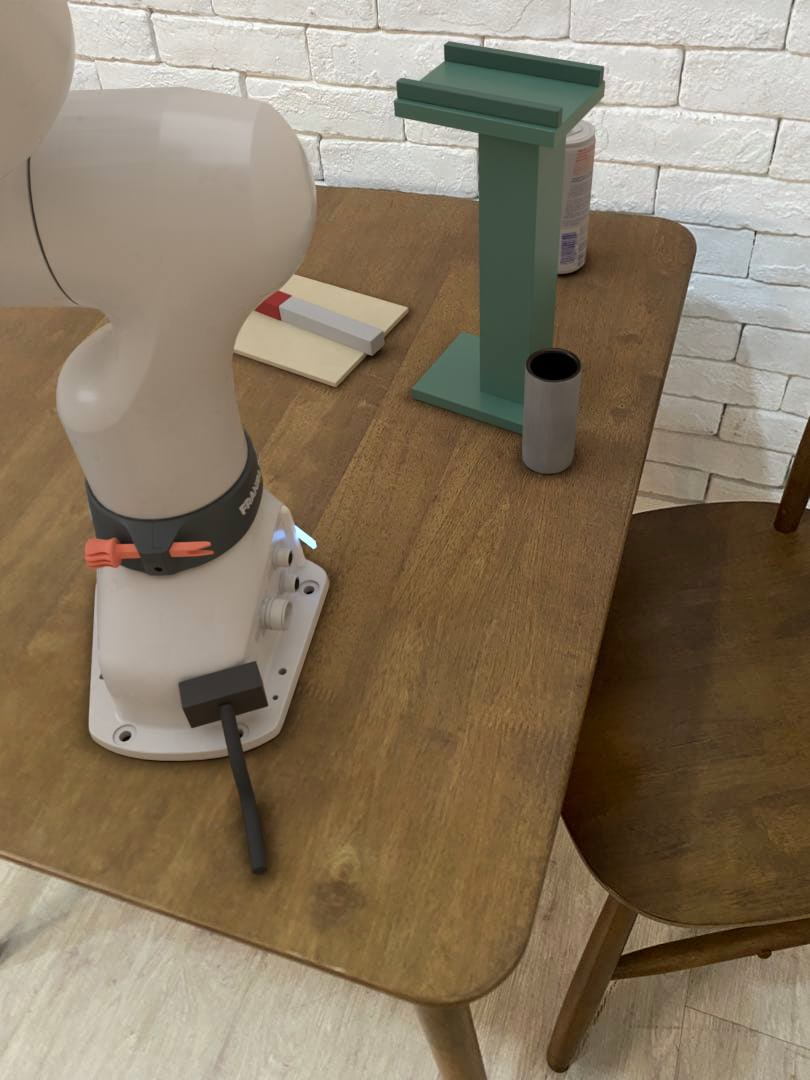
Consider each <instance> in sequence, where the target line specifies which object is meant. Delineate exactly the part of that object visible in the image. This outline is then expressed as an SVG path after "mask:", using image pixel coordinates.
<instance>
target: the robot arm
mask: <svg viewBox="0 0 810 1080" xmlns="http://www.w3.org/2000/svg"><path fill="white" fill-rule="evenodd" d="M69 7H70V6H69V3H68V0H0V309H42V308H47V309H50V308H54V309H55V308H85V309H86V308H87V309H95V310H98V311H100V312H101V313H102V314H104V315H105V317H106V318H107V319H108V320H109V322H107V323H106V324H104V325H102V326H101V327H99V328H98V329H96V330H95V331H94V332H92V333H91V334H90V335H88V336H87V337H85V338H84V340H83V341H81V342H80V343H79V344H78V345H77V346H76V347H75V348H74V349H73V350H72V352H70V354H69V355H68V356H67V358H66V359H65V361H64V362H63V364H62V367H61V368H60V371H59V375H58V378H57V382H56V389H55V402H56V403H55V404H56V412H57V415H58V418H59V420H60V423H61V424H62V427H63V430H64V432H65V434H66V436H67V438H68V440H69V443H70V445H71V448H72V449H73V452H74V454H75V456H76V458H77V461H78V463H79V465H80V467H81V470H82V472H83V475H84V486H85V491H86V492H85V493H86V503H87V507H88V514H89V517H90V518H89V519H90V521H92V524H93V529H94V534H95V538H94V537H92V538H88V539H87V542H86V543H85V547H84V559H85V562H86V565H87V567H88V568H89V569H92V570H96V584H95V591H94V607H93V608H94V609H93V625H92V626H93V628H92V647H91V648H92V649H91V667H90V668H91V669H90V684H89V685H90V688H89V707H88V732H89V734H90V736H91V739H92V740H93V741H94V742H95V743H96V744H98V745H99V746H101V747H103V748H104V749H106V750H108V751H110V752H113V753H115V754H117V755H122V756H125V757H128V758H135V759H140V760H147V761H149V760H150V761H161V762H163V761H164V762H166V761H167V762H182V761H184V762H185V761H202V760H209V759H219V758H224V757H228V758H229V763H230V768H231V772H232V775H233V776H232V777H233V779H234V782H235V786H236V789H237V793H238V797H239V802H240V806H241V811H242V815H243V821H244V826H245V832H246V839H247V846H248V852H249V853H248V854H249V860H250V867H251V873H252V874H253V875H261V874H264V873H266V872H267V871H268V863H267V858H266V851H265V845H264V840H263V838H264V837H263V833H262V826H261V822H260V821H261V820H260V816H259V810H258V806H257V801H256V797H255V792H254V789H253V786H252V783H251V778H250V774H249V770H248V766H247V762H246V758H245V752H248V751H250V750H252V749H255V748H257V747H259V746H261V745H264V744H265V743H268V742H269V741H271V740H272V739H274V738H276V737H277V736H278V735H279V734H280V733H281V730H282V729H283V726H284V723H285V721H286V718H287V715H288V713H289V712H288V711H289V708H290V705H291V703H292V699H293V696H294V693H295V691H296V688H297V686H298V685H297V684H298V682H299V679H300V676H301V673H302V670H303V667H304V664H305V661H306V657H307V655H308V652H309V650H310V649H309V648H310V646H311V643H312V639H313V637H314V633H315V631H316V629H317V625H318V622H319V619H320V616H321V613H322V611H323V606H324V604H325V600H326V597H327V595H328V592H329V589H330V579H329V576H328V574H327V572H326V570H325V569H324V568H323V567H321V566H319V564H316V563H315V562H313V561H311V560H310V559H307V558H306V557H305V553H304V550H303V547H302V544H301V541H302V542H304V543H305V544H306V545H308V546H309V547H310V548H312V549H313V550H315V549H316V548H317V543H316V540H314V539H313V537H311V536H310V535H308V534H307V533H306V532H304V531H303V530H302V529H301V528H299V527H298V526H297V525H295V522H294V519H293V515H292V513H291V510H290V508H289V507H287V506H286V505H285V503H283V501H281V500H280V499H278V498H277V497H276V496H275V495H274V494H273V493H272V492H271V491H270V490H269V489H268V488H267V487H266V486H265V484H264V479H263V475H262V466H261V461H260V457H259V455H258V451H257V449H256V447H255V446H254V443H253V440H252V438H251V436H250V434H249V433H248V431H247V430H246V429H245V428H244V427H243V422H242V419H241V418H242V417H241V414H240V410H239V405H238V399H237V392H236V386H235V379H234V378H235V377H234V371H233V356H234V353H233V351H234V346H235V343H236V340H237V337H238V334H239V332H240V330H241V328H242V326H243V325H244V323H245V322H246V320H247V319H248V317H249V316H250V315H251V313H252V312H253V311H254V310H255V309H256V308H257V307H258V306H259V305H260V304H261V303H262V302H263V301H264V300H265V299H266V298H268V297H269V296H270V295H272V294H273V293H275V292H276V291H278V290H279V289H281V288H282V287H283V286H284V285H285V284H286V283H287V282H288V281H289V280H290V278H291V277H292V276H293V274H295V273H296V272H297V270H298V269H299V268H300V266H301V264H302V262H303V261H304V259H305V258H306V255H307V254H308V253H307V252H308V250H309V249H310V245H311V243H312V240H313V236H314V232H315V227H316V222H317V221H316V220H317V211H318V198H317V188H316V187H317V186H316V180H315V176H314V173H313V168H312V165H311V161H310V159H309V156H308V154H307V151H306V150H305V147H304V146H303V144H302V141H301V139H300V138H299V136H298V135H297V134H296V132H295V131H294V129H293V128H292V125H290V123H289V122H288V121H287V120H286V118H285V117H284V116H283V115H282V114H281V113H280V112H279V111H278V110H277V109H276V108H275V107H274V106H273V105H271V104H270V103H269V102H266V101H263V100H257V99H253V98H248V97H242V96H238V95H233V94H229V93H222V92H217V91H211V90H205V89H201V88H194V87H187V86H155V87H129V88H126V87H125V88H102V89H101V88H100V89H73V90H71V89H70V88H71V86H72V82H73V78H74V72H75V64H76V40H75V31H74V25H73V19H72V15H71V10H70V8H69ZM300 540H301V541H300ZM310 592H312V593H310ZM307 593H309V594H307ZM241 735H242V736H241ZM127 737H129V739H128V740H126V741H123V740H125V739H126V738H127Z"/></svg>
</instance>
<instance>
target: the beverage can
mask: <svg viewBox="0 0 810 1080" xmlns="http://www.w3.org/2000/svg"><path fill="white" fill-rule="evenodd" d="M596 141H597V138H596V127H595V126H594V125H593V123H591V122H590V121H587V120H585V119H582V120H581V121H580V122H579V123H578V124H577V125H576V126H575V127H574V128H573V129H572V130H571V131H570V132H569V133H568V134H567V135H566V147H565V163H564V178H563V194H562V209H561V225H560V240H559V256H558V272H557V275H564V274H569V273H573V272H575V271H577V270H579V269H580V268H582V267H583V266H584V264H585V263H586V256H587V246H588V245H587V244H588V233H589V221H590V213H591V212H590V210H591V199H592V187H593V175H594V167H595V166H594V165H595V164H594V163H595V154H596V153H595V152H596Z"/></svg>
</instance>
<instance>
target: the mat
mask: <svg viewBox="0 0 810 1080" xmlns="http://www.w3.org/2000/svg"><path fill="white" fill-rule="evenodd" d="M279 291H281V292H284V293H287V294H289V295H292V296H293V297H296V298H299V299H301V300H304V301H307V302H309V303H312V304H315V305H317V306H320V307H323V308H325V309H328V310H331V311H333V312H336V313H339V314H341V315H344V316H347V317H349V318H352V319H355V320H358V321H360V322H363V323H366V324H368V325H371V326H374V327H376V328H379V329H382V330H383V332H384V338H385V337H386V336H387V335H388V334H389V333H391V331H392V330H393V329H394V328H395V327H396V326H397V325H398V324H399V323H400V322H401V321H402V320H403V318H404V317H406V316H407V315H408V313H409V307H408V306H404V305H401V304H397V303H394V302H391V301H387V300H383V299H380V298H378V297H374V296H370V295H366V294H364V293H360V292H356V291H353V290H350V289H346V288H342V287H340V286H335V285H333V284H329V283H326V282H322V281H319V280H315V279H311V278H309V277H305V276H301V275H298V274H295V273H294V274H293V276H292V277H291V278H290V280H289V281H288V282H287V283H286V284H285V285H284V286H283V287H282V288H281V289H279ZM233 354H236V355H240V356H242V357H246V358H249V359H250V360H251V359H252V360H254V361H257V362H260V363H263V364H265V365H269V366H271V367H274V368H278V369H281V370H282V371H283V370H284V371H286V372H289V373H291V374H296V375H298V376H301V377H304V378H307V379H309V380H313V381H315V382H319V383H321V384H324V385H328V386H331V387H333V388H337V387H338V386H339V385H340V384H341V383H342V382H343V381H344V380H345V379H346V378H347V377H348V376H349V375H350V374H351V373H352V372H353V371H354V370H355V369H356V368H357V366H359V364H360V363H361V362H363V360H364V359H365V358H366V357H367V356H369V355H368V354H366V353H363V352H361V351H358V350H356V349H353V348H351V347H348V346H345V345H343V344H340V343H338V342H335V341H333V340H330V339H327V338H325V337H322V336H320V335H317V334H315V333H312V332H310V331H307V330H304V329H302V328H299V327H297V326H294V325H292V324H289V323H286V322H284V321H282V320H281V321H280V320H277V319H275V318H272V317H269V316H267V315H264V314H262V313H259V312H257V311H253V312H252V313H251V315H250V316H249V317H248V319H247V320H246V322H245V323H244V325H243V326H242V328H241V330H240V332H239V334H238V337H237V340H236V343H235V346H234V351H233Z"/></svg>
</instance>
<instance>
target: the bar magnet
mask: <svg viewBox="0 0 810 1080" xmlns="http://www.w3.org/2000/svg"><path fill="white" fill-rule="evenodd" d="M254 311H257V312H259V313H262V314H264V315H267V316H269V317H272V318H275V319H277V320H280V321H281V320H282V321H284V322H286V323H289V324H292V325H294V326H297V327H299V328H302V329H304V330H307V331H310V332H312V333H315V334H317V335H320V336H322V337H325V338H327V339H330V340H333V341H335V342H338V343H340V344H343V345H345V346H348V347H351V348H353V349H356V350H358V351H361V352H363V353H366V354H368V355H367V356H371V357H373V356H374V355H375V354H376V353H377V352H379V351H380V350H381V349H382V348H383V347H385V337H384V332H383V330H382V329H379V328H376V327H374V326H371V325H368V324H366V323H363V322H360V321H358V320H355V319H352V318H349V317H347V316H344V315H341V314H339V313H336V312H333V311H331V310H328V309H325V308H323V307H320V306H317V305H315V304H312V303H309V302H307V301H304V300H301V299H299V298H296V297H293V296H292V295H289V294H287V293H284V292H281V291H279V290H278V291H276V292H275V293H273V294H272V295H270V296H269V297H268V298H266V299H265V300H264V301H263V302H262V303H261V304H260V305H259V306H258V307H257V308H256V309H255V310H254Z"/></svg>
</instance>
